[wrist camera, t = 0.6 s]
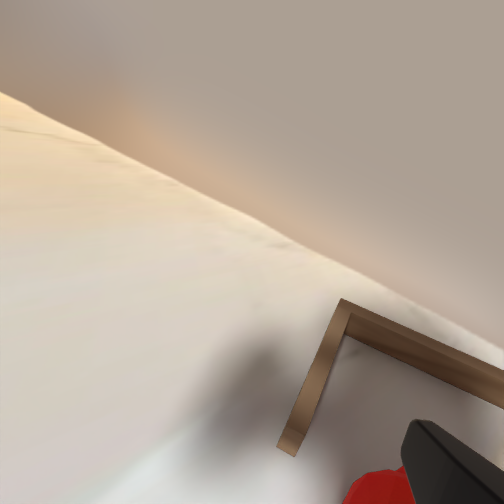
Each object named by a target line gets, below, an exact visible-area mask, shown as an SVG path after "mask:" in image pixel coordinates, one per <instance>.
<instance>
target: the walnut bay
mask: <svg viewBox="0 0 504 504" xmlns="http://www.w3.org/2000/svg"><path fill="white" fill-rule="evenodd" d="M343 333H344V334H346V335H348V336H350V337H352V338H354V339H356V340H359V341H361V342H363V343H365V344H367V345H369V346H371V347H373V348H375V349H378V350H380V351H382V352H384V353H386V354H388V355H390V356H392V357H395V358H397V359H399V360H401V361H403V362H405V363H407V364H409V365H411V366H414V367H416V368H418V369H420V370H422V371H424V372H426V373H428V374H431V375H433V376H435V377H437V378H439V379H441V380H443V381H445V382H447V383H450V384H452V385H454V386H456V387H458V388H460V389H462V390H464V391H467V392H469V393H471V394H473V395H475V396H477V397H479V398H481V399H483V400H486V401H488V402H490V403H492V404H494V405H496V406H498V407H500V408H503V409H504V370H501V369H499V368H497V367H495V366H492V365H490V364H488V363H486V362H483V361H481V360H479V359H477V358H474V357H472V356H470V355H468V354H465V353H463V352H461V351H459V350H456V349H454V348H452V347H450V346H447V345H445V344H443V343H441V342H439V341H436V340H434V339H432V338H430V337H427V336H425V335H423V334H421V333H418V332H416V331H414V330H412V329H409V328H407V327H405V326H403V325H400V324H398V323H396V322H394V321H391V320H389V319H387V318H385V317H382V316H380V315H378V314H376V313H373V312H371V311H369V310H367V309H365V308H362V307H360V306H358V305H356V304H353V303H351V302H349V301H347V300H344V299H342V298H341V299H340V301H339V303H338V306H337V308H336V310H335V312H334V314H333V317H332V319H331V321H330V324H329V326H328V328H327V331H326V333H325V335H324V338H323V340H322V342H321V345H320V347H319V349H318V351H317V354H316V356H315V358H314V361H313V363H312V365H311V368H310V370H309V372H308V375H307V377H306V379H305V382H304V384H303V386H302V389H301V391H300V393H299V395H298V398H297V400H296V402H295V405H294V407H293V409H292V412H291V414H290V416H289V419H288V421H287V423H286V426H285V428H284V430H283V433H282V435H281V437H280V440H279V442H278V444H277V446H276V447H278V448H280V449H281V450H283V451H285V452H286V453H288V454H290V455H292V456H293V457H295V455H296V453H297V451H298V449H299V447H300V445H301V443H302V441H303V440H304V438H305V435H306V433H307V430H308V427H309V425H310V422H311V419H312V417H313V414H314V411H315V408H316V406H317V403H318V400H319V398H320V395H321V392H322V390H323V387H324V384H325V381H326V379H327V376H328V373H329V371H330V368H331V365H332V362H333V360H334V357H335V354H336V352H337V349H338V346H339V344H340V341H341V338H342V335H343Z"/></svg>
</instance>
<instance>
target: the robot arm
mask: <svg viewBox="0 0 504 504" xmlns="http://www.w3.org/2000/svg"><path fill="white" fill-rule="evenodd" d="M401 459H402V463H403V466H404V469H405V472H406V475H407V478H408V481H409V485H410V488H411V491H412V494H413V497H414V500H415V503H416V504H504V471H502V470H501V469H499V468H498V467H497V466H495V465H494V464H492V463H491V462H489V461H488V460H487V459H485V458H484V457H482V456H481V455H479V454H478V453H477V452H475V451H474V450H472V449H471V448H469V447H468V446H466V445H465V444H464V443H462V442H461V441H459V440H458V439H456V438H455V437H454V436H452V435H451V434H449V433H448V432H446V431H445V430H444V429H442V428H441V427H439V426H438V425H436V424H435V423H433V422H432V421H428V420H419V419H415V420H412V421H411V422H410V424H409V427H408V430H407V432H406V435H405V438H404V441H403V444H402V447H401Z"/></svg>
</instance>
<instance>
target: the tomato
mask: <svg viewBox="0 0 504 504" xmlns="http://www.w3.org/2000/svg"><path fill="white" fill-rule="evenodd" d="M342 504H416V503H415V500H414V497H413V494H412V491H411V488H410V485H409V481H408V478H407V475H406V472H405V469H404V466H402V467H401V468H399V469H398V470H396V471H393V470H390V469H388V470H382V471H376V472H370V473H367V474H365V475H364V476H362V477H361V478H359V479H358V480H356V481H355V482H354V483H353V484H352V486H351V488H350V490H349V492H348V494H347V496H346V498H345V499H344V501H343V503H342Z"/></svg>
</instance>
